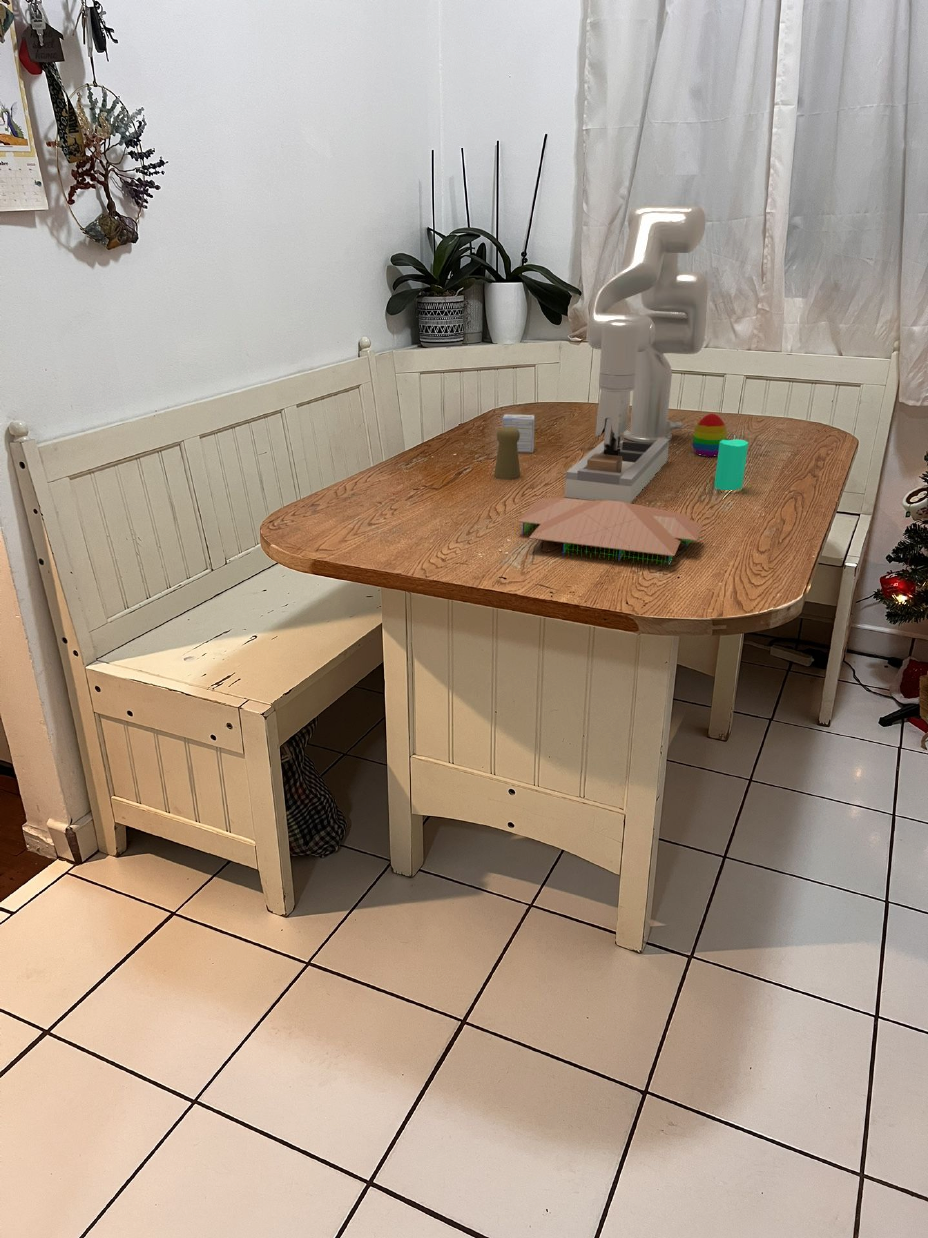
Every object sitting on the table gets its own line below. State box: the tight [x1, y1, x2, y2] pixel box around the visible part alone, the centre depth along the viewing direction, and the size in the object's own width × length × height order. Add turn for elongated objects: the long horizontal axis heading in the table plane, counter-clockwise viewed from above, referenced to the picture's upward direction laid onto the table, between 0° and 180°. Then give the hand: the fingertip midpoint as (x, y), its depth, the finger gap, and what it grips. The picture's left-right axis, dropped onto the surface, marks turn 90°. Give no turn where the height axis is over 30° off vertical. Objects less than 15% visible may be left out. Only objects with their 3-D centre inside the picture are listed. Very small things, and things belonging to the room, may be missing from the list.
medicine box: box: [501, 413, 536, 454], centre depth 231 cm, size 8×4×9 cm, turn 84°
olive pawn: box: [493, 427, 521, 480], centre depth 209 cm, size 6×6×11 cm
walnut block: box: [587, 453, 623, 473], centre depth 196 cm, size 6×6×4 cm
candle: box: [713, 434, 749, 490], centre depth 201 cm, size 6×6×12 cm
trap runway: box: [564, 435, 670, 504], centre depth 209 cm, size 38×14×6 cm, turn 157°
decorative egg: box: [692, 413, 728, 456], centre depth 229 cm, size 8×8×10 cm
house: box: [517, 497, 704, 566], centre depth 171 cm, size 23×33×8 cm
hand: (610, 466), depth 201 cm, fingers closed
